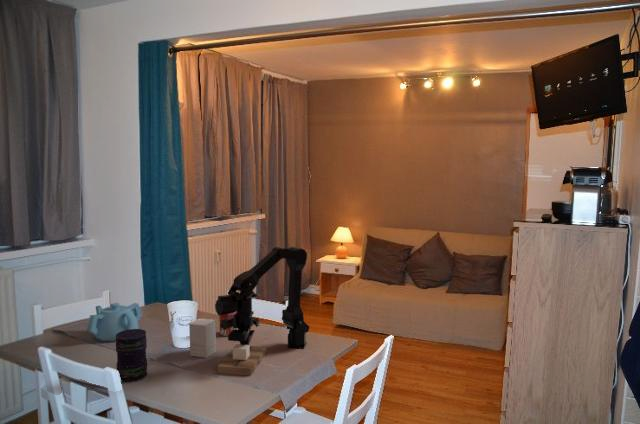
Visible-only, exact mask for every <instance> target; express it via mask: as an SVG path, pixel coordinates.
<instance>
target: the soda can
mask: <svg viewBox="0 0 640 424" xmlns="http://www.w3.org/2000/svg"><path fill="white" fill-rule="evenodd" d="M235 313H236V312H234V313H230V314H226V315H221V316H219V315H218V316H219V318H218V319H219V320H218V321H219V334H220V335H221V336H222V337H228V334H229V333H230V332H231V331H232V330H233V329H234V328H233V327H231V328H227V329H226V330H223V328H222V327H220V325H221V324H220V323H221V320H222V319H225V318H228V317H231V316H234V314H235ZM234 330H238V328H237V329H234Z"/></svg>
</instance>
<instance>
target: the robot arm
mask: <svg viewBox="0 0 640 424" xmlns="http://www.w3.org/2000/svg"><path fill="white" fill-rule="evenodd" d="M282 259H285V260H286V261H285V262H286V264H287V267H288V270H289V275H288V277H289V278H288V294H287V295H288V296H287V298H288V299H287V306H286V308H285V309H282V310H281V314H282V316H281V320H282V323H283V325H285V328H286V329H287V330H288V334H287V348H291V349H305V348H306V345H307V343H308V342H307V333H308V332H309V330H310V325H308V323H306V322H305V318H304V312H303V309H302V307H301V301H302V300H301V299H302V298H301V297H302V296H301V295H302V277H303V270H304V267H305V266H306V264H307V260H308V252H307V251H306V250H305V249H304V248H300V247H295V246H290V247H288V248H286V247H280V246H279V247H278V246H276V247H273V248H272V250H271V251H270V252H268V253H267V255H265V256H264V257H263V258H262V259H261V260H260V261H258V262H257V263H256V264H255V265H254V266H253V267H252V268H250V269H249V270H246V271H243V272H241V273H240V274H238V275H237V276H235V277H234V279H233V283H232V284H231V286H230V288H229V290H228V291H227V294H226V295H218V296H217V300H216V301H215V304H214V306H215V307H214V308H215V309H214V310H215V312H216V314H217V316H221V315H226V314H230V313H234V312H236V313H235V314H234V316H231V317H228V318H225V319H222V320H221V323H220V322H219V328H220V327H222V328H223V330H226V329H227V328H231V327H233V328H234V329H237V330H234V329H233V330H232V331H231V332H230V333H229V334H228V336H227V340H228V341H229V342H230V341H231V342H239V343H240V345H250V342H251V341H252V338H253V336H254V333H255V332H256V330H254V329H252V327H253V326H254V327H256V328H258V327H259V326H260V319H259V318H258V317H253V315H254V310H253V298H257V297H258V294H256V293H255V292H254V289H255V288H256V287H257V286H258V284H259V281H260V279H261V278H262V277H263V276H264V275H265V274H267V273H268V272H269V271H270V270H271V269H272V268H273V267H274V266H276V265H277V264H278V263H279V262H280V261H281V260H282ZM220 324H221V325H220Z"/></svg>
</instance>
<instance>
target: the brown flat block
mask: <svg viewBox="0 0 640 424" xmlns="http://www.w3.org/2000/svg"><path fill="white" fill-rule="evenodd" d="M267 349H268V348H267V346H257V345H256V346H255V345H250V356H249V357H248V359H247V360H238V359H233V349H231V350H230V352H229V353H228V354H227V355H226V356H225V357H224V358H223V360H222V361H221V362H219V364H218V365H217V374H223V375H224V374H226V375H238V376H239V375H240V376H252V375H253V373H254V372H255V371H256V369H257V368H258V366H259V365H260V364H261V362H262V361H263V359H264V358H265V356H267V353H268V351H267Z"/></svg>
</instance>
